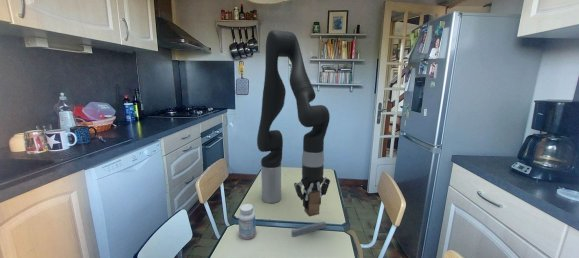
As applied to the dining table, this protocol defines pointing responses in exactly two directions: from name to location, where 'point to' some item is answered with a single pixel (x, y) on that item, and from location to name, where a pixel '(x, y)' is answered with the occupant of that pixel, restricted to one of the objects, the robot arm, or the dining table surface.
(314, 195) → the walnut block
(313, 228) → the rail
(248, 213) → the pill bottle
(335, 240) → the dining table surface
